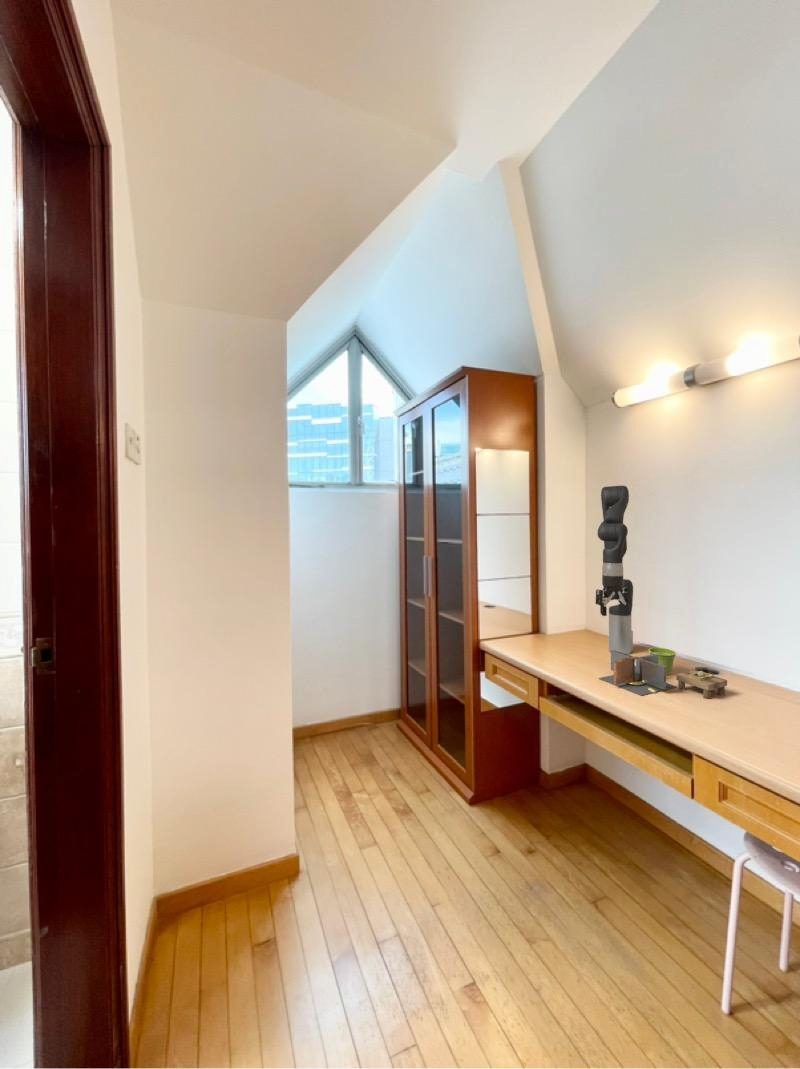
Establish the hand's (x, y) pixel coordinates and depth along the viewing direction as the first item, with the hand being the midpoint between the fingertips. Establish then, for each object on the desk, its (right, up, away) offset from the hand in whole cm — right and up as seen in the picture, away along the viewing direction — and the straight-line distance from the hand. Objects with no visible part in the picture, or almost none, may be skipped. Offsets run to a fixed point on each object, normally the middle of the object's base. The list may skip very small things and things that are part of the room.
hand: (612, 614), depth 173 cm
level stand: (+21, -23, -20) cm, 37 cm away
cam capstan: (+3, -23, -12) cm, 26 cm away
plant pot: (+18, -23, -2) cm, 29 cm away
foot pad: (+3, -23, -12) cm, 26 cm away
